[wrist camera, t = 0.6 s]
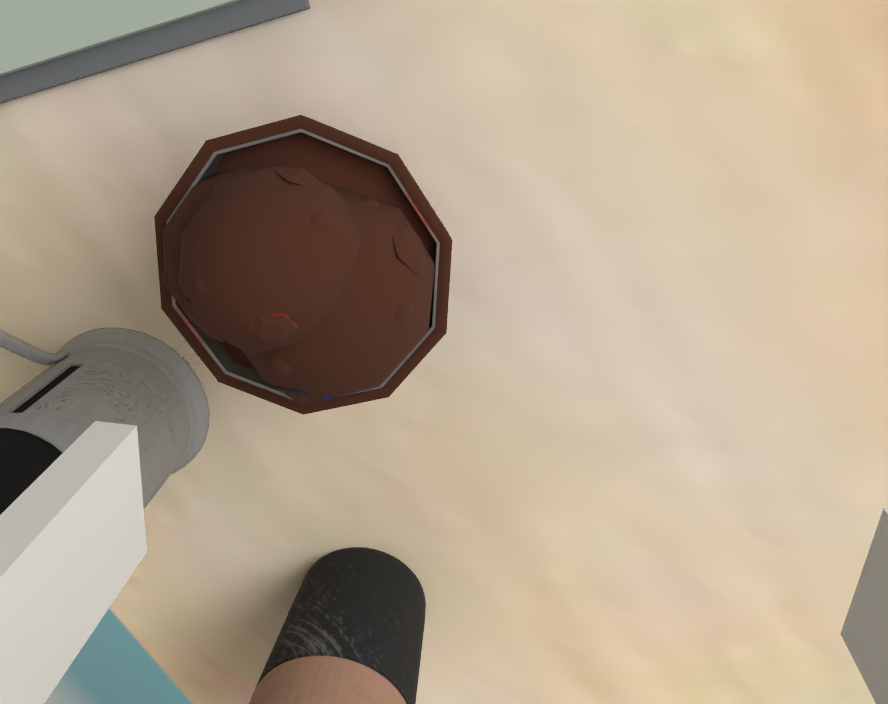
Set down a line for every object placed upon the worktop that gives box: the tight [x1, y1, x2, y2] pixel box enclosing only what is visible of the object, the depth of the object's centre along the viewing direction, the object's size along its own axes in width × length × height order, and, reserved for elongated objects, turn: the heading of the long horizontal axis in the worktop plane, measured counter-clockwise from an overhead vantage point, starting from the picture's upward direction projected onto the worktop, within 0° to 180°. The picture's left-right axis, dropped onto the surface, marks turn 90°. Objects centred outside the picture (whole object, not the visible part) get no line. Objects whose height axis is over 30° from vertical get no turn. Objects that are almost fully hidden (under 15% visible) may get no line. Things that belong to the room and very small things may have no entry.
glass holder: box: [0, 328, 209, 515], centre depth 35 cm, size 9×14×15 cm, turn 28°
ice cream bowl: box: [155, 115, 452, 414], centre depth 31 cm, size 11×11×15 cm
